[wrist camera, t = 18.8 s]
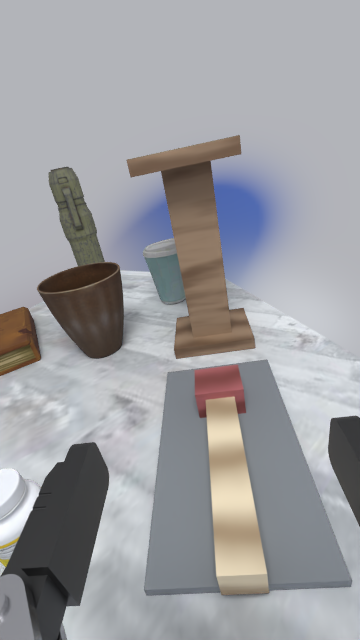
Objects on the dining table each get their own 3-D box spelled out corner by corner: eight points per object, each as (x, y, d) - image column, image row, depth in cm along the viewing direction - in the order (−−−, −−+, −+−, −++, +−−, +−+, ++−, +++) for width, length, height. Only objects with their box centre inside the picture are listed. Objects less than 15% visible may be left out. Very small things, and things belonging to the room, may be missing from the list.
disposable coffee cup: (148, 308, 75) (132, 250, 68) (164, 290, 84) (152, 237, 77) (187, 308, 71) (175, 246, 64) (200, 289, 80) (190, 233, 73)
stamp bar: (285, 592, 22) (284, 566, 20) (206, 595, 23) (197, 570, 21) (240, 386, 43) (237, 364, 41) (198, 391, 43) (194, 370, 41)
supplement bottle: (20, 530, 31) (-27, 471, 27) (72, 512, 32) (34, 451, 27) (5, 594, 26) (-55, 534, 22) (66, 571, 27) (20, 509, 23)
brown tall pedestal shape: (257, 354, 50) (239, 135, 35) (175, 365, 52) (126, 159, 37) (242, 312, 64) (225, 142, 50) (179, 321, 66) (144, 160, 51)
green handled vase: (90, 301, 88) (43, 170, 72) (83, 290, 98) (41, 173, 82) (118, 291, 90) (79, 163, 74) (109, 282, 100) (73, 167, 84)
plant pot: (140, 323, 69) (121, 256, 61) (140, 360, 55) (116, 279, 48) (76, 338, 68) (49, 272, 61) (61, 378, 55) (24, 300, 48)
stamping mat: (350, 586, 23) (351, 580, 22) (146, 595, 24) (144, 589, 24) (267, 364, 47) (267, 359, 47) (169, 377, 49) (167, 372, 49)
